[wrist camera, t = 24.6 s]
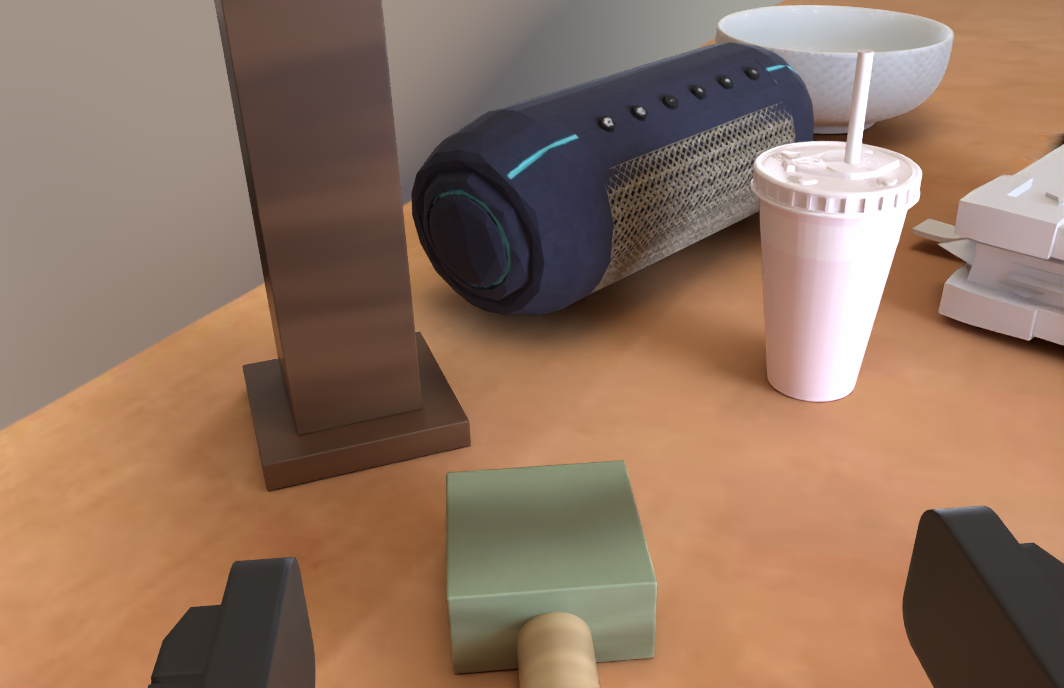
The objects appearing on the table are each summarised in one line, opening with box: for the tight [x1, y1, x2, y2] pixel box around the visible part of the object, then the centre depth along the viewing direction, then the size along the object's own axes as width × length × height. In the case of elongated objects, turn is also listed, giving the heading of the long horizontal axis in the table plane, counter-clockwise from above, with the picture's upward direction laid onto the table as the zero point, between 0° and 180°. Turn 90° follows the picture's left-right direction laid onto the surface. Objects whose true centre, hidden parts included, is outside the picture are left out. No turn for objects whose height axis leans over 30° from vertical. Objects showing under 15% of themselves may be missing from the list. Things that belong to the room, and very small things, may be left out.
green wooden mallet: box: [446, 460, 657, 688], centre depth 27 cm, size 16×6×3 cm, turn 4°
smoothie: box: [751, 50, 922, 402], centre depth 40 cm, size 6×6×14 cm
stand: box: [214, 0, 471, 491], centre depth 33 cm, size 10×8×31 cm
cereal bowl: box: [715, 5, 953, 134], centre depth 74 cm, size 17×17×7 cm
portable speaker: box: [412, 42, 814, 315], centre depth 53 cm, size 25×10×10 cm, turn 135°
